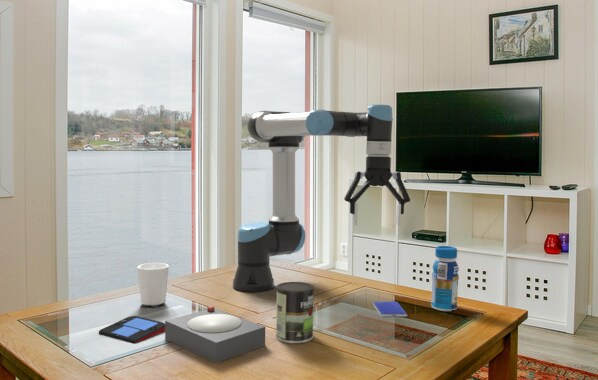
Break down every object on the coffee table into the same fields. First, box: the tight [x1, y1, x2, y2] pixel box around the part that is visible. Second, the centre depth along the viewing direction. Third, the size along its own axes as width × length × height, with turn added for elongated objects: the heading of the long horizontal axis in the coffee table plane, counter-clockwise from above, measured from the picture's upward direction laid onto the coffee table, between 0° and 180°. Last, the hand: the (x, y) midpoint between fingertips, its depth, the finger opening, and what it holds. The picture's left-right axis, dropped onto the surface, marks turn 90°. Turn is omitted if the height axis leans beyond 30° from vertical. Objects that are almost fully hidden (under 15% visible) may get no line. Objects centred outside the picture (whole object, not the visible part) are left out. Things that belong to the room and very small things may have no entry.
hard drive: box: [372, 301, 408, 318], centre depth 168 cm, size 2×8×12 cm
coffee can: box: [275, 281, 315, 345], centre depth 142 cm, size 10×10×14 cm
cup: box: [136, 262, 170, 308], centre depth 169 cm, size 10×10×13 cm
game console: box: [98, 315, 165, 344], centre depth 145 cm, size 14×13×2 cm
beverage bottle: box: [430, 245, 460, 312], centre depth 170 cm, size 8×8×20 cm
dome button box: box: [164, 305, 266, 364], centre depth 138 cm, size 22×16×6 cm
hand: (376, 224), depth 162 cm, fingers open, 13 cm apart
